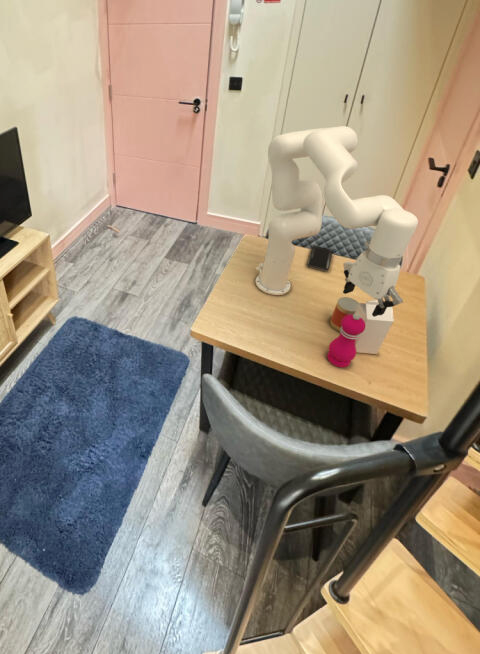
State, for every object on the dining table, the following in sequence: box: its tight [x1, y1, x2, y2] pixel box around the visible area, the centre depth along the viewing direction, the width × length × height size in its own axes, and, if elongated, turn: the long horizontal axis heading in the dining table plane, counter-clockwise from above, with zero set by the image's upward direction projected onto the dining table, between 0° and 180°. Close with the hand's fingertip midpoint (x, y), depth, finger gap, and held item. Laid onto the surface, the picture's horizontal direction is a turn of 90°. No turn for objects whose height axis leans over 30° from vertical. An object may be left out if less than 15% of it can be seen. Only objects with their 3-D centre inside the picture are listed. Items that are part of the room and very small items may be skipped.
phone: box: [306, 245, 334, 272], centre depth 166 cm, size 8×1×15 cm
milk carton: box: [355, 299, 395, 355], centre depth 124 cm, size 7×7×19 cm
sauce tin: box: [329, 296, 360, 332], centre depth 134 cm, size 7×7×10 cm
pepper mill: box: [326, 314, 365, 368], centre depth 120 cm, size 7×7×20 cm
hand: (361, 303), depth 112 cm, fingers open, 9 cm apart
